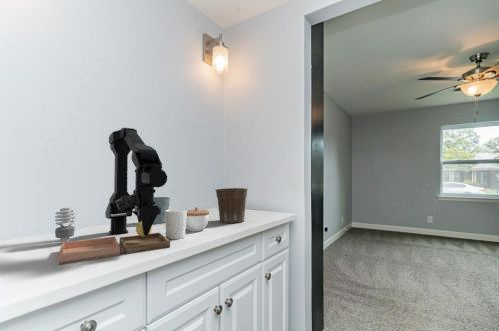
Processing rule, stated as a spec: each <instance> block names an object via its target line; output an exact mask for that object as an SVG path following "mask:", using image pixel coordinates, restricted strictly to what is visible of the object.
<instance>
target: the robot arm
mask: <svg viewBox="0 0 499 331" xmlns="http://www.w3.org/2000/svg"><path fill="white" fill-rule="evenodd" d="M108 144H109V148H110V150H111V152H112V153H113V155H114V174H113V175H114V182H113V183H114V188H113V190H114V192H112V194H111V196H110V197H109V200H108V201H109V202H108V203H107V207H106V210H105V212H104V214H105V218H106V219H109V220H110V230H108V233H109V236H113V235H120V234H128V233H129V230H128V228H127V227H128V226H127V224H128V223H127V221H128V220H127V217H132V216H133V214H134V215H135V216H136V217H137V218H136V219H137V222H138V223H139V222H141V221H142V228H143V233H144V236H147V235H148V233H149V231H150V229H151V227H152V228H153V225H154V224H153V223H154V221H155V219H156V217H157V216H158V215H159V214H161V208H160V207H159V206H158V205H156V204H155V202H154V197H155V194H156V189H155V188H162V187H164V186H165V185H166V183H167V181H168V175H167V173H166V171H165V170H164V169H163V163H162V161H161V158H160V156H159V153H158V152H157V150H156V149H155V148H154V147H152V146H150V145H147V144H146V143H145V142H144V141H143V139H142V138H141V137H140V135H139V134H138V131H137V129H135V128H132V127H122V128H120V129H118V130H114V131H112V132H111V133H110V135H109V137H108ZM130 152H131V161H132V163H133V165H134V167H135V169H134V173H135V185H134V186H135V188H134V189H133V190H132V191H133V192H132V194H130V193H129V191H128V173H129V172H128V165H129V164H128V163H129V162H128V161H129V160H128V159H129V157H128V156H129V154H130Z"/></svg>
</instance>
